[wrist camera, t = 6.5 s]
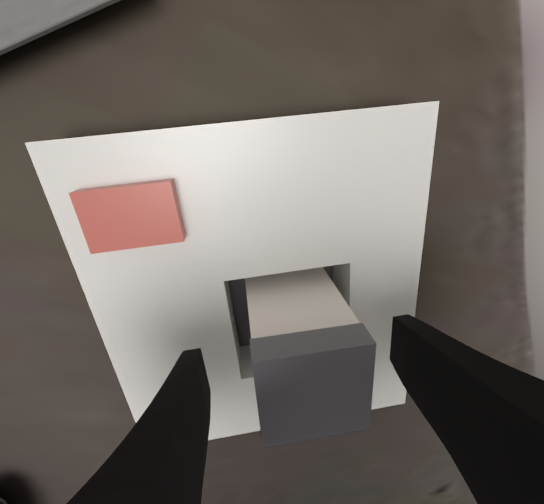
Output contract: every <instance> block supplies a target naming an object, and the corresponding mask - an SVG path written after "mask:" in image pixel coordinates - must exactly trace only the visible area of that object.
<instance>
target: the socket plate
mask: <svg viewBox="0 0 544 504" xmlns="http://www.w3.org/2000/svg"><path fill="white" fill-rule="evenodd" d="M438 108H439V101H434V102H424V103H414V104H404V105H394V106H384V107H374V108H364V109H354V110H344V111H335V112H325V113H315V114H305V115H295V116H285V117H275V118H265V119H255V120H245V121H236V122H226V123H216V124H206V125H196V126H186V127H176V128H166V129H156V130H146V131H137V132H127V133H117V134H107V135H97V136H87V137H77V138H67V139H57V140H47V141H37V142H28V143H25V144H26V147H27V149H28V152H29V154H30V157H31V159H32V162H33V164H34V167H35V170H36V172H37V175H38V177H39V180H40V182H41V185H42V187H43V190H44V192H45V195H46V197H47V200H48V202H49V205H50V207H51V210H52V213H53V215H54V218H55V220H56V223H57V225H58V228H59V230H60V233H61V235H62V238H63V240H64V243H65V245H66V248H67V250H68V253H69V256H70V258H71V261H72V263H73V266H74V268H75V271H76V273H77V276H78V278H79V281H80V283H81V286H82V288H83V291H84V293H85V296H86V299H87V301H88V304H89V306H90V309H91V311H92V314H93V316H94V319H95V321H96V324H97V326H98V329H99V331H100V334H101V336H102V339H103V341H104V344H105V347H106V349H107V352H108V354H109V357H110V359H111V362H112V364H113V367H114V369H115V372H116V374H117V377H118V379H119V382H120V384H121V387H122V390H123V392H124V395H125V397H126V400H127V402H128V405H129V407H130V410H131V412H132V415H133V417H134V420H135V422H136V423H137V421H138V420H139V418H140V417H141V416H142V414H143V413H144V411H145V410H146V409H147V407H148V406H149V404H150V403H151V402H152V400H153V398H154V397H155V395H156V394H157V392H158V391H159V389H160V388H161V386H162V385H163V383H164V381H165V380H166V378H167V377H168V375H169V373H170V372H171V370H172V368H173V367H174V365H175V363H176V362H177V360H178V358H179V356H180V355H181V353H182V352H183V351H185V350H191V349H197V348H201V351H202V356H203V360H204V364H205V368H206V373H207V377H208V381H209V385H210V390H211V413H210V427H209V436H208V440H212V439H217V438H223V437H228V436H233V435H239V434H244V433H249V432H255V431H260V423H259V415H258V407H257V400H256V392H255V384H254V377H253V369H252V361H251V350H250V340H249V339H251V333H250V323H249V313H248V304H247V294H246V284H245V278H250V277H257V276H264V275H271V274H278V273H285V272H292V271H299V270H305V269H312V268H319V267H323V268H324V270H325V271H326V273H327V274H328V276H329V277H330V279H331V280H332V282H333V283H334V285H335V286H336V288H337V289H338V291H339V292H340V294H341V295H342V297H343V298H344V300H345V301H346V303H347V304H348V306H349V307H350V309H351V310H352V312H353V313H354V315H355V316H356V318H357V319H358V321H359V322H360V323H363V324H364V326H365V327H366V329H367V330H368V332H369V333H370V335H371V336H372V338H373V339H374V340H375V342H376V343H377V344H376V357H375V369H374V382H373V395H372V407H371V410H372V409H377V408H383V407H388V406H393V405H399V404H404V403H405V398H406V389H405V387H404V386H403V384H402V382H401V380H400V379H399V377H398V375H397V373H396V371H395V369H394V367H393V365H392V363H391V361H390V346H391V333H392V320H393V317H394V316H400V315H406V314H409V315H411V316H413V317H415V310H416V301H417V293H418V284H419V275H420V266H421V258H422V249H423V240H424V231H425V222H426V214H427V205H428V196H429V187H430V178H431V170H432V161H433V152H434V143H435V134H436V126H437V117H438Z"/></svg>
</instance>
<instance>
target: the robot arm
mask: <svg viewBox="0 0 544 504" xmlns="http://www.w3.org/2000/svg"><path fill="white" fill-rule="evenodd" d="M390 361H391V363H392V365H393V367H394V369H395V371H396V373H397V375H398V377H399V379H400V380H401V382H402V384H403V386H404V387H405V389H406V390H407V392H408V393H409V395H410V396H411V398H412V399H413V400H414V402H415V403H416V405H417V406H418V408H419V409H420V411H421V412H422V414H423V415H424V417H425V418H426V419H427V421H428V422H429V424H430V425H431V427H432V428H433V430H434V431H435V432H436V434H437V435H438V437H439V438H440V440H441V441H442V443H443V444H444V446H445V447H446V449H447V451H448V452H449V454H450V455H451V457H452V459H453V460H454V462H455V464H456V466H457V467H458V469H459V471H460V473H461V474H462V476H463V478H464V480H465V481H466V483H467V485H468V487H469V489H470V490H471V492H472V494H473V496H474V498H475V500H476V502H477V503H478V504H544V381H543V380H541V379H539V378H536V377H534V376H531V375H529V374H527V373H524V372H522V371H519V370H517V369H515V368H512V367H510V366H508V365H506V364H504V363H501V362H499V361H497V360H495V359H493V358H491V357H489V356H487V355H485V354H483V353H481V352H479V351H477V350H475V349H473V348H471V347H469V346H467V345H465V344H463V343H461V342H459V341H457V340H456V339H454V338H452V337H450V336H448V335H446V334H444V333H443V332H441V331H439V330H437V329H435V328H433V327H432V326H430V325H428V324H426V323H424V322H423V321H421V320H419V319H417V318H415V317H413V316H411V315H409V314H406V315H400V316H394V317H393V320H392V333H391V346H390ZM210 413H211V390H210V385H209V381H208V377H207V373H206V368H205V364H204V360H203V356H202V351H201V348H197V349H191V350H185V351H183V352H182V353H181V355H180V356H179V358H178V360H177V362H176V363H175V365H174V367H173V368H172V370H171V372H170V373H169V375H168V377H167V378H166V380H165V381H164V383H163V385H162V386H161V388H160V389H159V391H158V392H157V394H156V395H155V397H154V398H153V400H152V402H151V403H150V404H149V406H148V407H147V409H146V410H145V411H144V413H143V414H142V416H141V417H140V418H139V420H138V421H137V423H136V424H135V425H134V427H133V428H132V429H131V431H130V432H129V433H128V435H127V436H126V437H125V438H124V440H123V441H122V442H121V443H120V445H119V446H118V447H117V448H116V450H115V451H114V452H113V453H112V454H111V456H110V457H109V458H108V459H107V460H106V462H105V463H104V464H103V465H102V466H101V467H100V468H99V469H98V470H97V472H96V473H95V474H94V475H93V476H92V477H91V478H90V479H89V480H88V482H87V483H86V484H85V485H84V486H83V487H82V488H81V489H80V490H79V491H78V492H77V493H76V495H75V496H74V497H73V498H72V499H71V500H70V501H69V502H68V503H67V504H201V495H202V486H203V477H204V469H205V461H206V453H207V444H208V436H209V427H210Z"/></svg>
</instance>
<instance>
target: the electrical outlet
mask: <svg viewBox="0 0 544 504" xmlns="http://www.w3.org/2000/svg"><path fill="white" fill-rule="evenodd" d="M118 1H121V0H0V55H2V54H5V53H7V52H9V51H11V50H13V49H16V48H18V47H20V46H22V45H24V44H26V43H29V42H31V41H33V40H35V39H37V38H40V37H42V36H44V35H46V34H48V33H51V32H53V31H55V30H57V29H59V28H61V27H64V26H66V25H68V24H70V23H72V22H75V21H77V20H79V19H81V18H83V17H86V16H88V15H90V14H92V13H94V12H97V11H99V10H101V9H103V8H105V7H107V6H110V5H112V4H114V3H116V2H118Z"/></svg>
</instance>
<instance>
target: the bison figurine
mask: <svg viewBox="0 0 544 504" xmlns="http://www.w3.org/2000/svg"><path fill="white" fill-rule="evenodd" d="M0 504H7V502H6V501H5V500H4V499H2V498H0Z"/></svg>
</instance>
